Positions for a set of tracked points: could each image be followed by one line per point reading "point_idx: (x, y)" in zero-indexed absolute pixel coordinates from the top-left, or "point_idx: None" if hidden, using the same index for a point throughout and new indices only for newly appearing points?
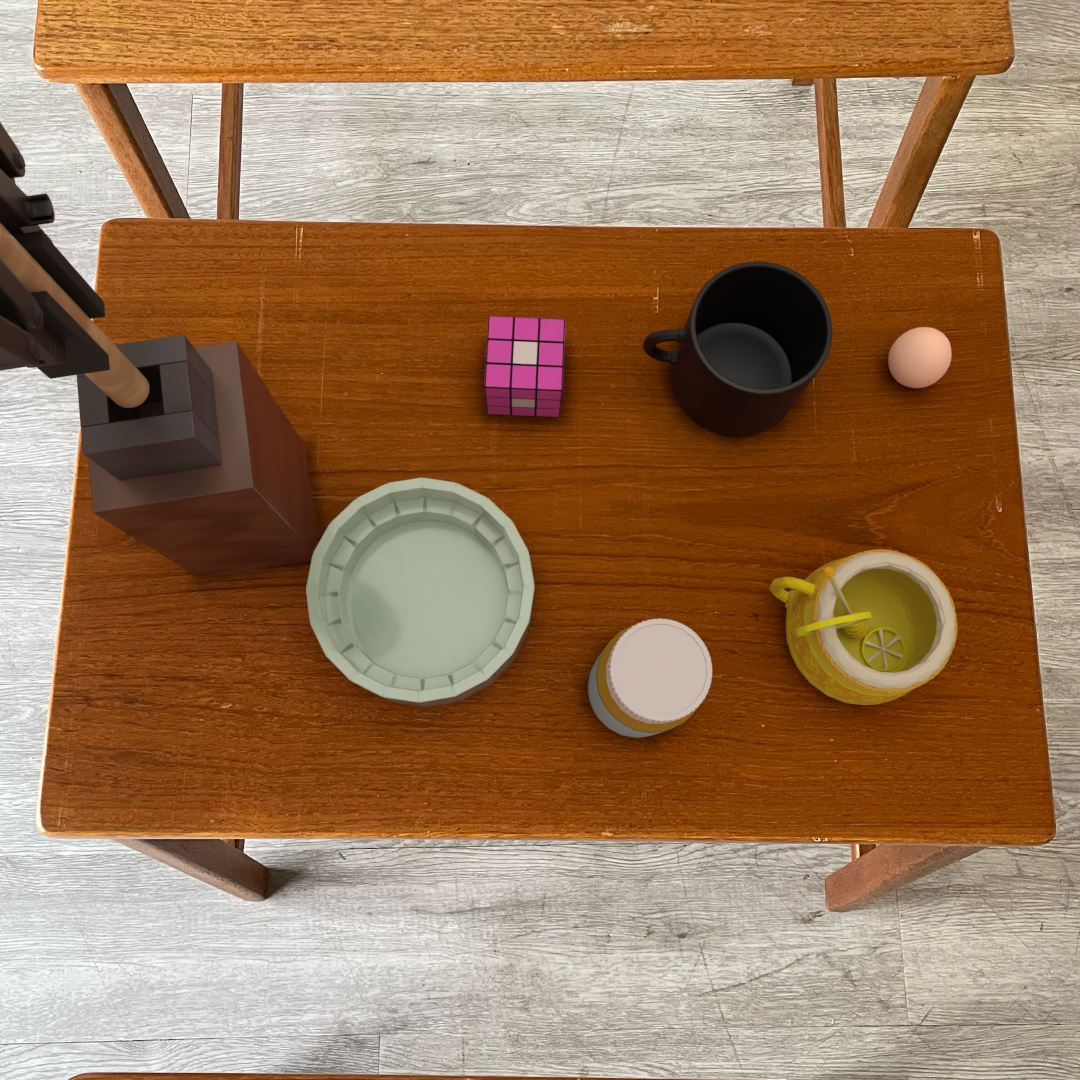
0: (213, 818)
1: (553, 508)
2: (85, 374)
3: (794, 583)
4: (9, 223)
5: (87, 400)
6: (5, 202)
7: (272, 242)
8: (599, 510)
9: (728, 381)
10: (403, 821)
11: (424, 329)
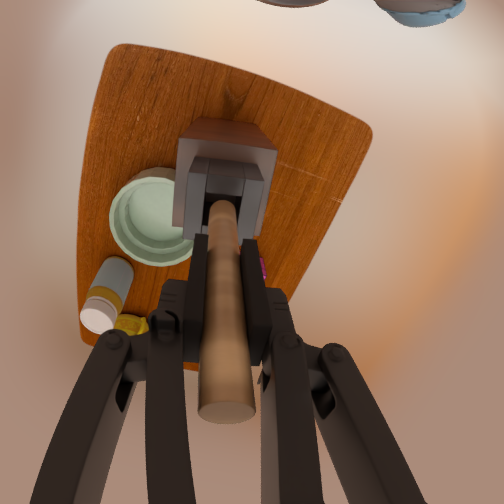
0: (96, 108)
1: (189, 262)
2: (211, 230)
3: (139, 333)
4: (265, 370)
5: (225, 181)
6: (261, 414)
7: (343, 190)
8: (184, 275)
9: None
10: (82, 182)
11: (280, 236)
